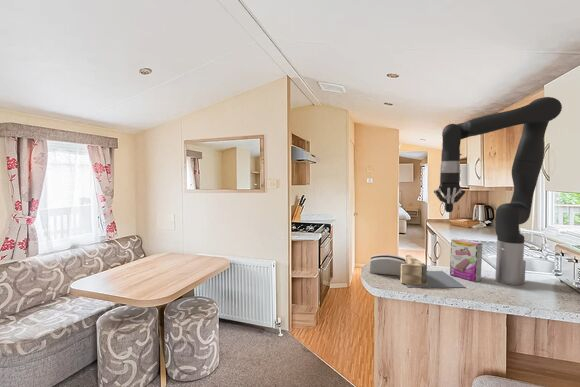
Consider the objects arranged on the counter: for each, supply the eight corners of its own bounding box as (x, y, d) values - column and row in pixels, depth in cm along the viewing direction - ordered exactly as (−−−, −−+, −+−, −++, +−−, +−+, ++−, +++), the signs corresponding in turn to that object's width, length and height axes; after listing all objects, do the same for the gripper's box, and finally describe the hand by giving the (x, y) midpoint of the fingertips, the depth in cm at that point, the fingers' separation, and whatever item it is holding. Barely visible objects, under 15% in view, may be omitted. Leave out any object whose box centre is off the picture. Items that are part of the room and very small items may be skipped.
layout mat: (442, 271, 142) (442, 270, 142) (465, 287, 122) (465, 287, 122) (392, 271, 143) (392, 270, 143) (407, 287, 123) (407, 286, 123)
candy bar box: (449, 275, 137) (450, 239, 136) (455, 273, 140) (456, 237, 139) (475, 282, 128) (477, 244, 127) (481, 280, 131) (483, 242, 130)
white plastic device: (407, 272, 140) (407, 253, 136) (407, 278, 136) (407, 260, 132) (370, 269, 146) (369, 251, 142) (369, 275, 142) (368, 257, 138)
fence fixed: (425, 283, 128) (425, 264, 127) (427, 284, 126) (427, 265, 125) (400, 282, 128) (400, 263, 128) (401, 284, 126) (402, 265, 126)
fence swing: (405, 271, 141) (405, 255, 140) (409, 271, 141) (409, 255, 141) (420, 281, 128) (420, 263, 127) (424, 281, 128) (424, 263, 128)
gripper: (461, 171, 135) (459, 210, 136) (430, 171, 135) (429, 210, 136) (470, 171, 127) (469, 213, 128) (438, 171, 128) (437, 213, 129)
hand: (448, 212), depth 132 cm, fingers closed
